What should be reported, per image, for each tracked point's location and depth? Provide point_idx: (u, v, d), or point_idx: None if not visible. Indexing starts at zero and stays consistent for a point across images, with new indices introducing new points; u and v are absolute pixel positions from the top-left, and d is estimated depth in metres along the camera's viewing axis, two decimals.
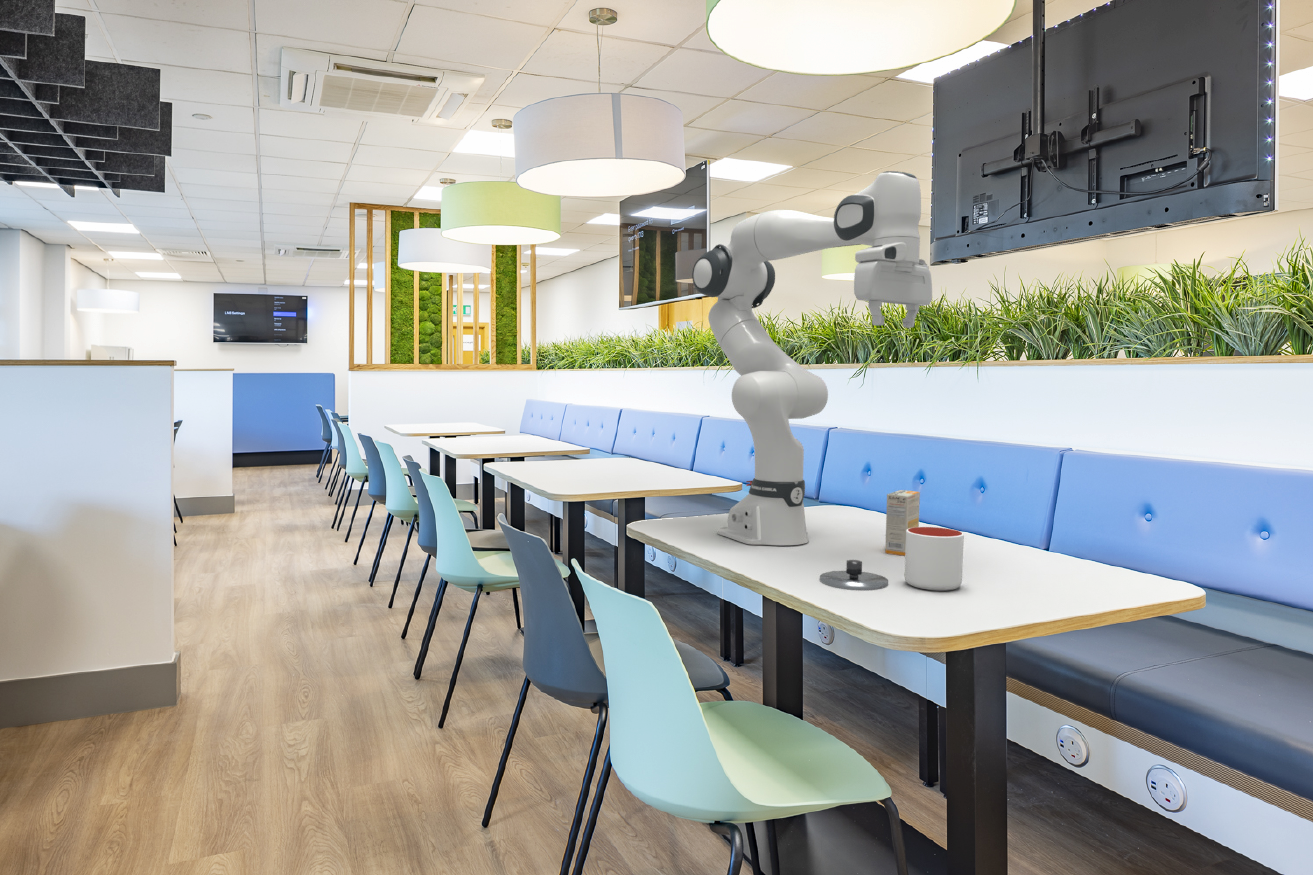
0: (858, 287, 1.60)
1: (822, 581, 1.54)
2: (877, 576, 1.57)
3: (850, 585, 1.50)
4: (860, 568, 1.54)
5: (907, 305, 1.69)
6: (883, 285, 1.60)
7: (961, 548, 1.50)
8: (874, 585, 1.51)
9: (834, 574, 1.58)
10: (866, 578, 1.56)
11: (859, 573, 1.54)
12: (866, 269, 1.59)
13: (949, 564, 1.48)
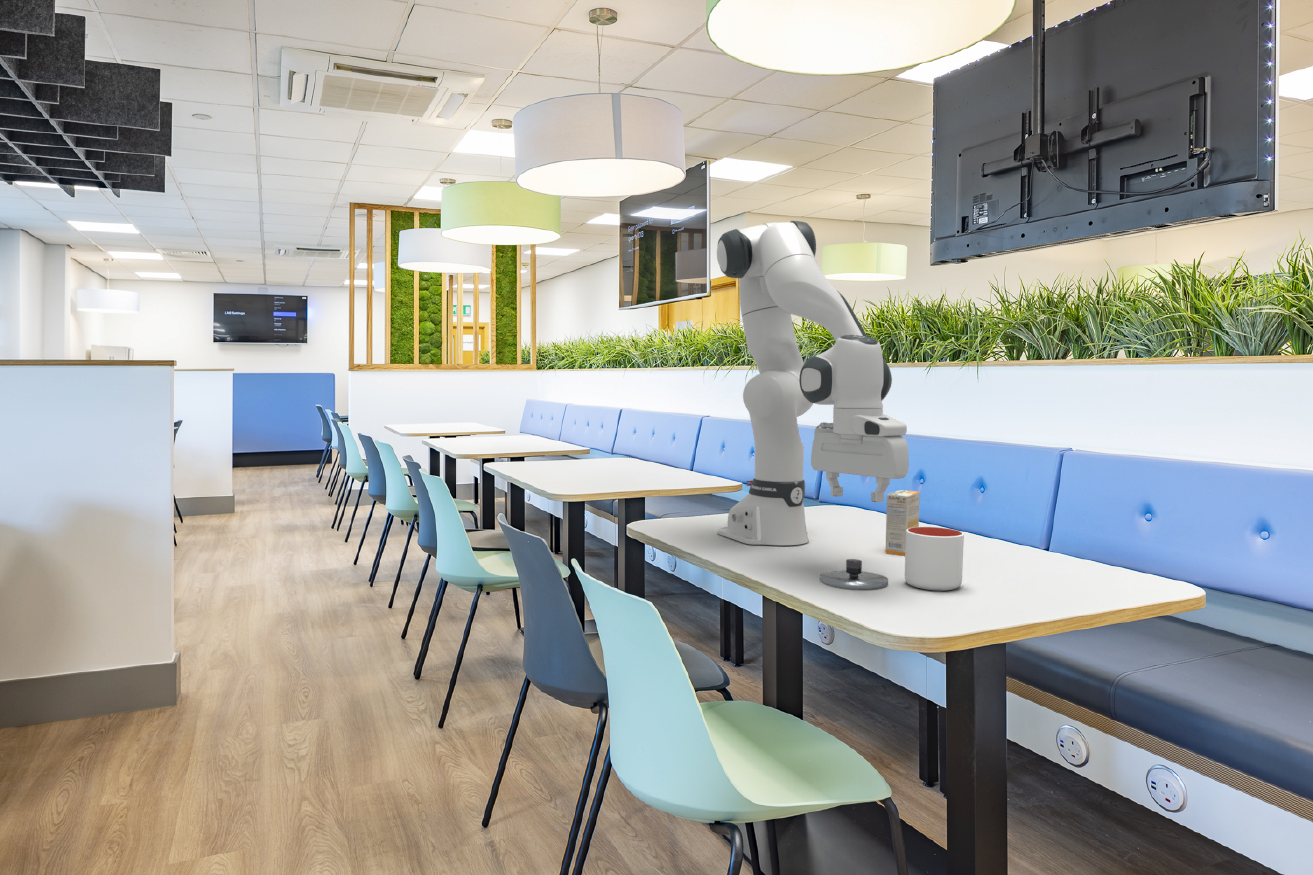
0: (900, 465, 1.45)
1: (822, 581, 1.54)
2: (876, 575, 1.57)
3: (851, 584, 1.50)
4: (860, 567, 1.54)
5: (832, 472, 1.58)
6: None
7: (961, 548, 1.50)
8: (875, 583, 1.51)
9: (834, 574, 1.58)
10: (866, 577, 1.56)
11: (859, 572, 1.54)
12: (902, 447, 1.46)
13: (949, 564, 1.48)
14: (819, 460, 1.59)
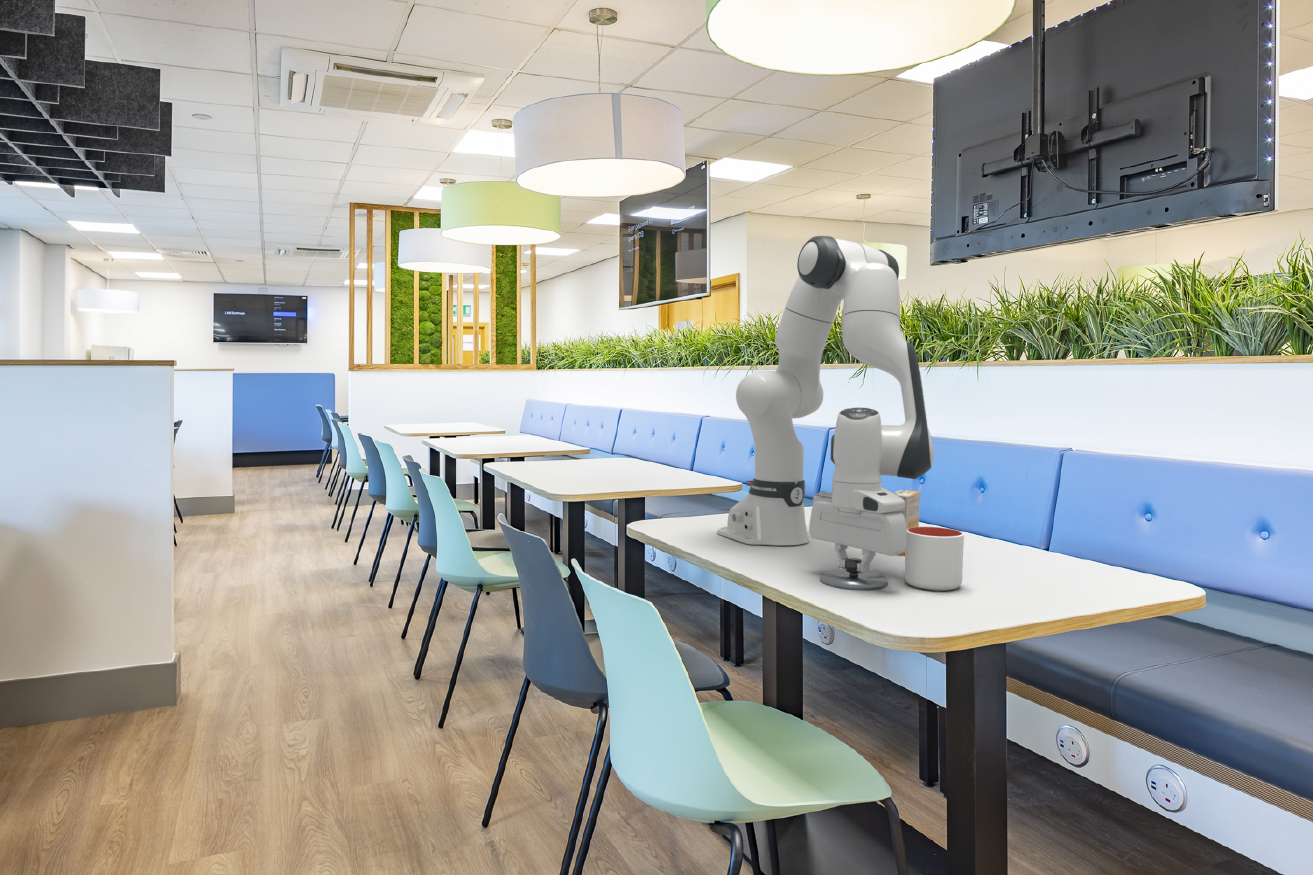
0: (897, 542, 1.47)
1: (824, 580, 1.54)
2: (875, 573, 1.58)
3: (854, 583, 1.50)
4: None
5: (841, 544, 1.57)
6: None
7: (961, 548, 1.50)
8: (877, 583, 1.51)
9: (832, 573, 1.58)
10: (865, 576, 1.56)
11: None
12: (900, 523, 1.47)
13: (949, 564, 1.48)
14: (818, 529, 1.60)
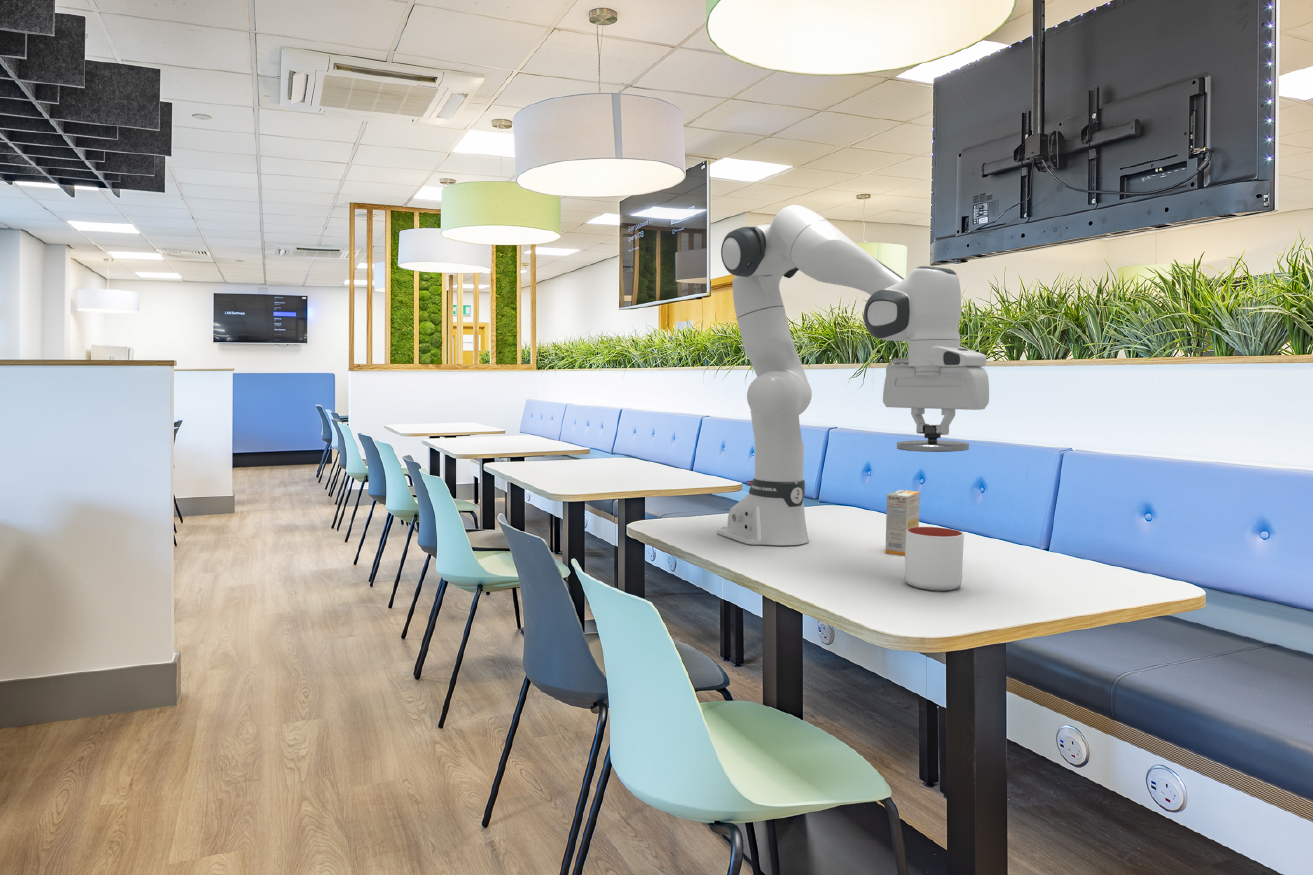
0: (981, 396, 1.42)
1: (903, 446, 1.50)
2: (953, 441, 1.54)
3: (935, 445, 1.46)
4: None
5: (918, 409, 1.53)
6: None
7: (961, 548, 1.50)
8: (959, 445, 1.47)
9: (909, 442, 1.54)
10: (944, 442, 1.52)
11: (939, 436, 1.50)
12: (983, 377, 1.43)
13: (949, 564, 1.48)
14: (892, 396, 1.56)
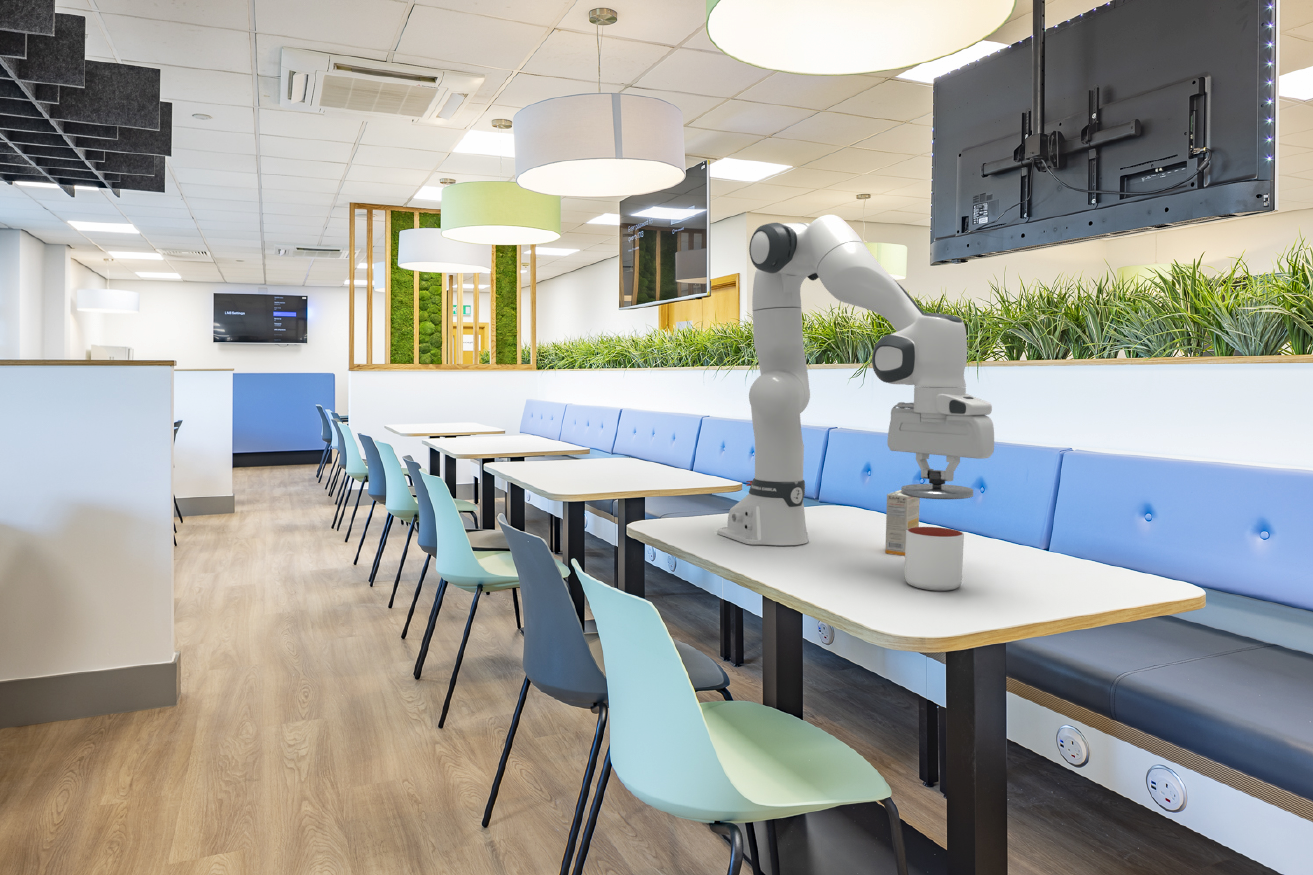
0: (986, 445, 1.43)
1: (908, 492, 1.50)
2: (957, 486, 1.55)
3: (940, 493, 1.47)
4: None
5: (923, 454, 1.53)
6: None
7: (961, 548, 1.50)
8: (963, 492, 1.48)
9: (914, 486, 1.55)
10: (949, 488, 1.53)
11: (943, 482, 1.51)
12: (988, 426, 1.44)
13: (949, 564, 1.48)
14: (897, 440, 1.57)
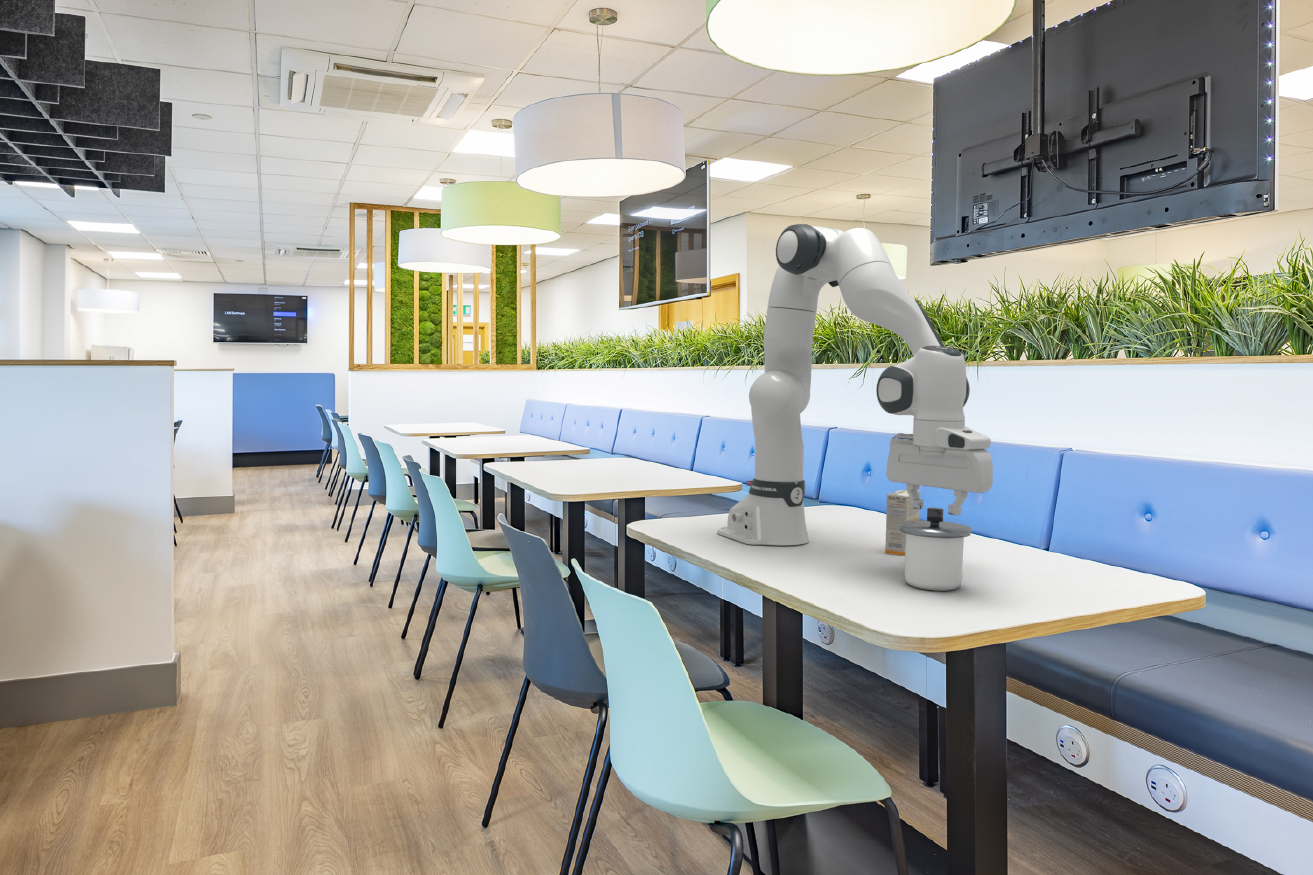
0: (985, 479, 1.44)
1: (906, 529, 1.51)
2: (954, 524, 1.55)
3: (938, 531, 1.48)
4: (942, 515, 1.52)
5: (913, 485, 1.55)
6: None
7: (961, 548, 1.50)
8: (961, 531, 1.48)
9: (912, 523, 1.55)
10: (946, 526, 1.53)
11: (941, 520, 1.52)
12: (987, 460, 1.45)
13: (949, 564, 1.48)
14: (896, 471, 1.57)
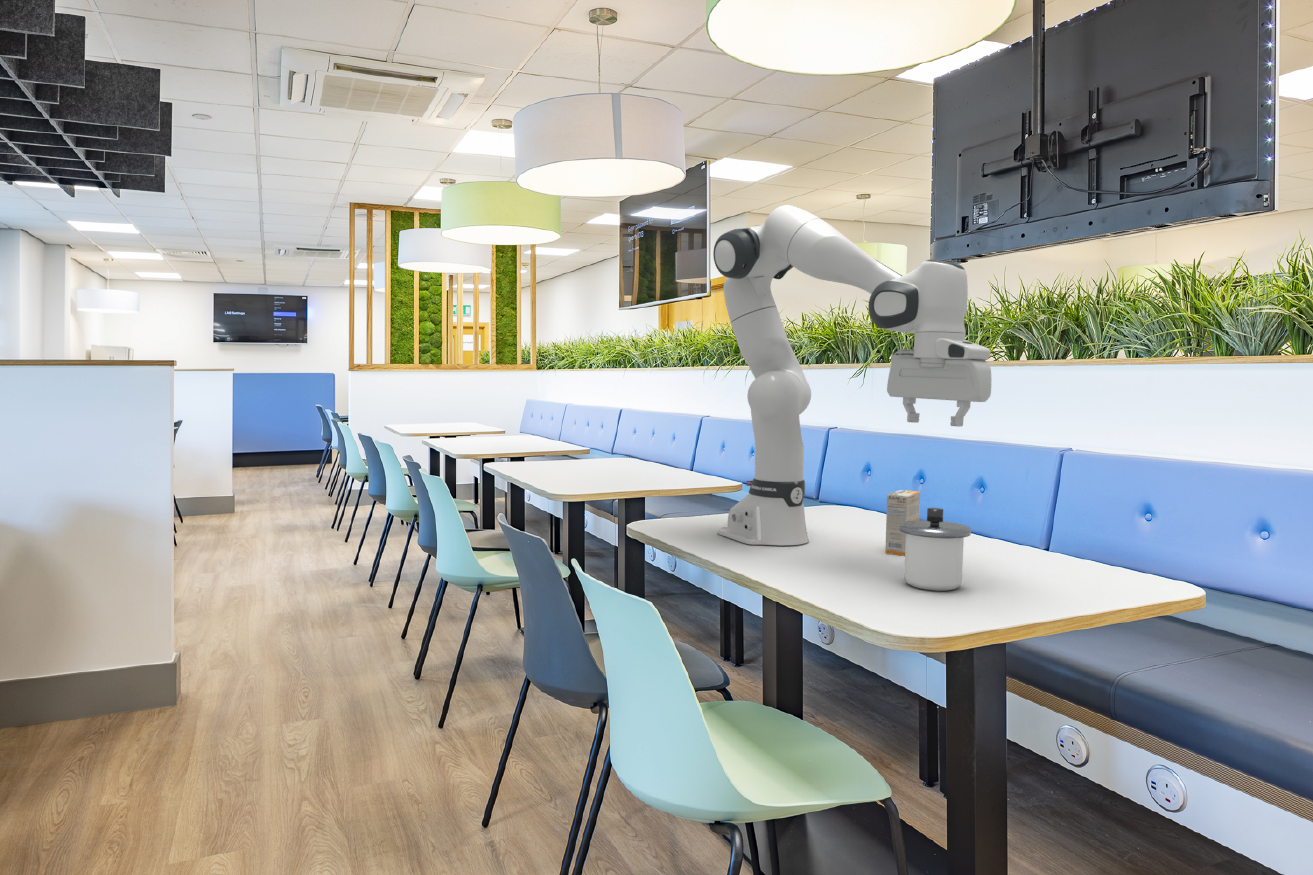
0: (983, 388, 1.46)
1: (906, 529, 1.51)
2: (954, 524, 1.55)
3: (938, 531, 1.48)
4: (942, 515, 1.52)
5: (910, 398, 1.59)
6: None
7: (961, 548, 1.50)
8: (961, 531, 1.48)
9: (912, 523, 1.55)
10: (946, 526, 1.53)
11: (941, 520, 1.52)
12: (986, 370, 1.47)
13: (949, 564, 1.48)
14: (897, 386, 1.60)
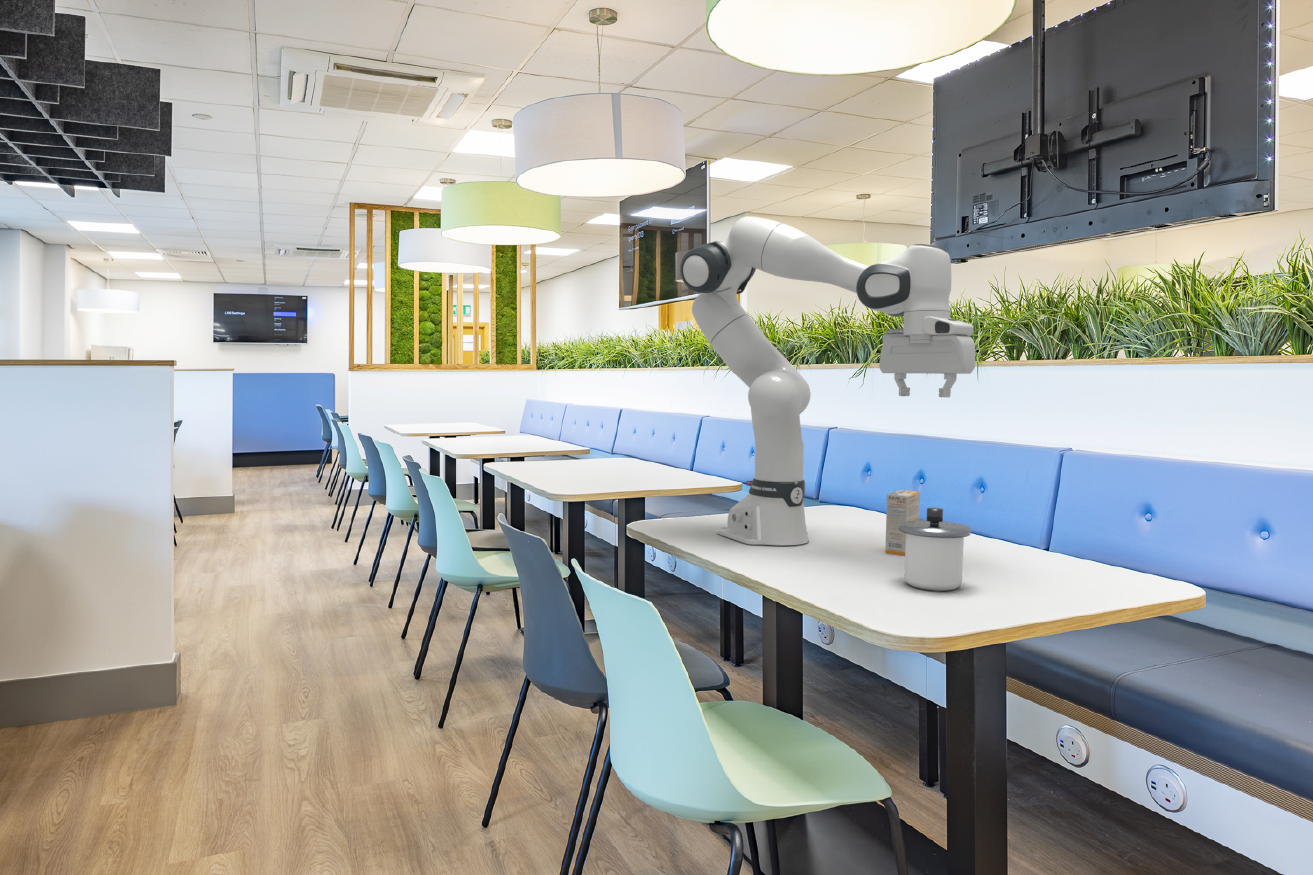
0: (968, 361, 1.59)
1: (905, 529, 1.51)
2: (954, 524, 1.55)
3: (938, 531, 1.48)
4: (942, 515, 1.52)
5: (900, 374, 1.71)
6: None
7: (961, 548, 1.50)
8: (961, 531, 1.48)
9: (911, 523, 1.55)
10: (946, 525, 1.53)
11: (941, 520, 1.52)
12: (970, 344, 1.60)
13: (949, 564, 1.48)
14: (888, 363, 1.72)
